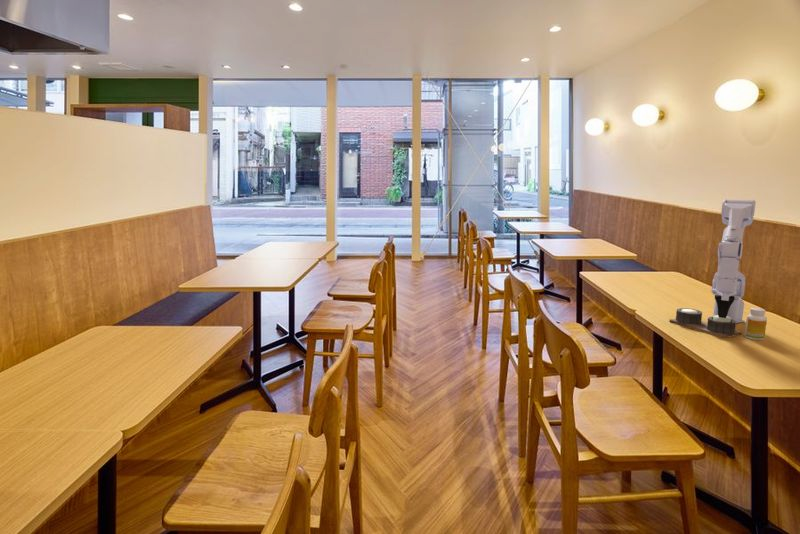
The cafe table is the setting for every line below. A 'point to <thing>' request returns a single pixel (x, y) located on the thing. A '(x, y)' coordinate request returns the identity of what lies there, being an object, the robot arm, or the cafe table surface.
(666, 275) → the cafe table surface
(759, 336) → the supplement bottle
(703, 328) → the collar board
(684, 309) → the peg cream
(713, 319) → the peg sage
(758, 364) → the cafe table surface
